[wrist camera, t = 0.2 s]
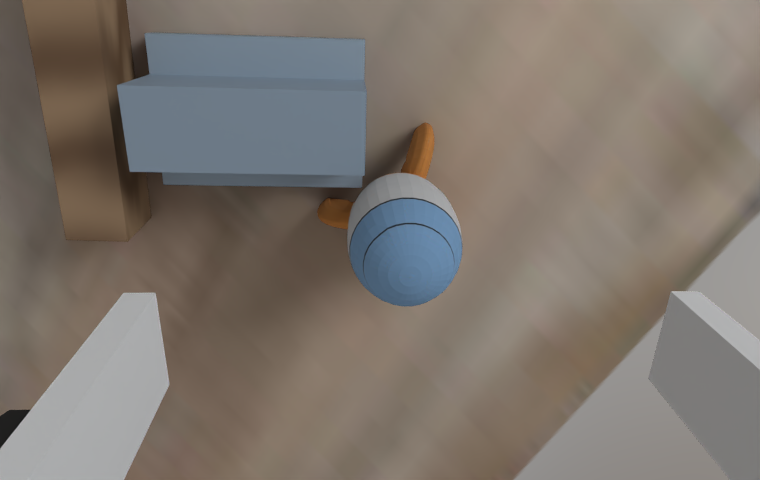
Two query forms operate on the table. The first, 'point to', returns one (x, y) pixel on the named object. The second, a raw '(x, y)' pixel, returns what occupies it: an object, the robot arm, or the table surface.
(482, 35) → the table surface
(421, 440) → the table surface
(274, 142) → the slate ridge
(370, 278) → the toy rocket
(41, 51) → the walnut bar
